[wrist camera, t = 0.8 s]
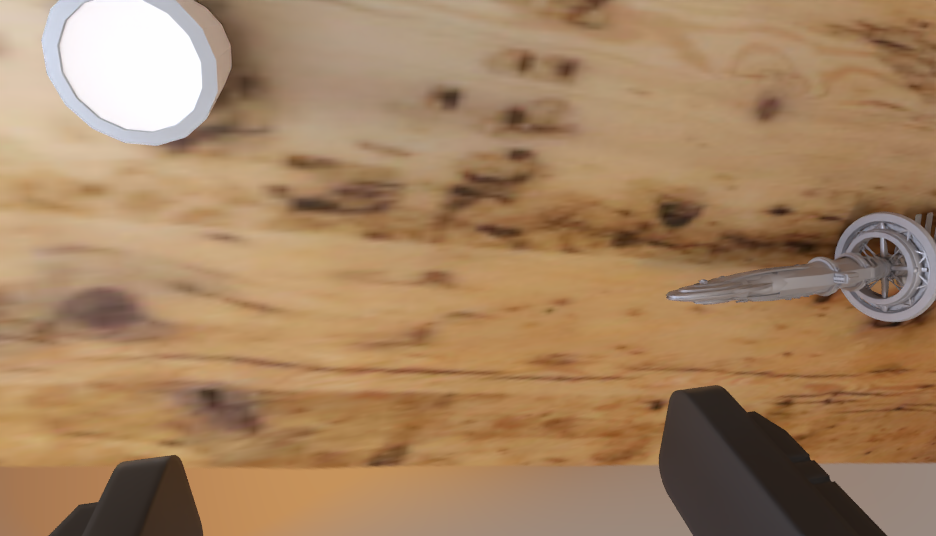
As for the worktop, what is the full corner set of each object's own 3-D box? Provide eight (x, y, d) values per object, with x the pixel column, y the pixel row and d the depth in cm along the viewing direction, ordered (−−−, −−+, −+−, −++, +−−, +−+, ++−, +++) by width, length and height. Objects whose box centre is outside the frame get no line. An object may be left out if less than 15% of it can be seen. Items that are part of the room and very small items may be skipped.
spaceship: (705, 237, 33) (714, 374, 33) (1120, 187, 41) (1120, 296, 42) (630, 236, 40) (638, 347, 41) (994, 195, 49) (996, 286, 50)
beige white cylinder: (255, 6, 30) (230, 12, 24) (232, 130, 33) (205, 164, 27) (111, -43, 28) (44, -50, 22) (99, 93, 31) (35, 120, 25)
